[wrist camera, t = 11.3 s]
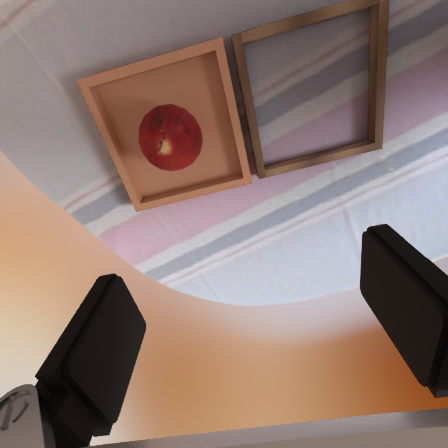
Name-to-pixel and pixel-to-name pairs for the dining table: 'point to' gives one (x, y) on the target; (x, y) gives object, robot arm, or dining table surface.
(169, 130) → the onion
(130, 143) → the terracotta tray
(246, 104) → the walnut frame
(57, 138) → the dining table surface
